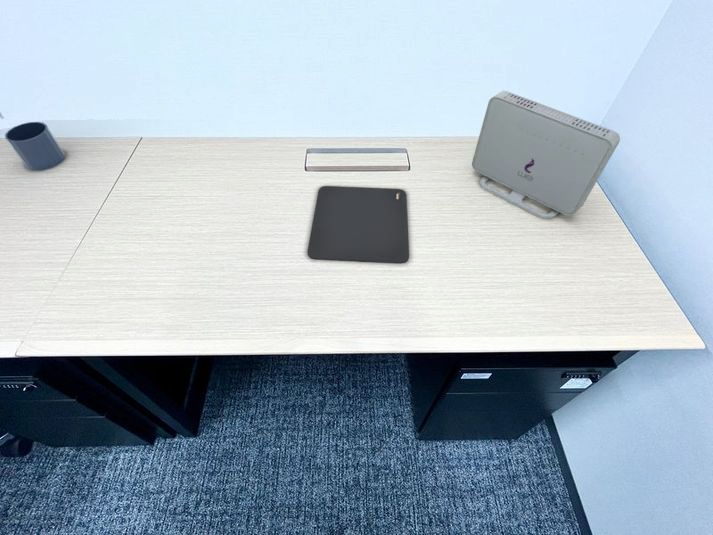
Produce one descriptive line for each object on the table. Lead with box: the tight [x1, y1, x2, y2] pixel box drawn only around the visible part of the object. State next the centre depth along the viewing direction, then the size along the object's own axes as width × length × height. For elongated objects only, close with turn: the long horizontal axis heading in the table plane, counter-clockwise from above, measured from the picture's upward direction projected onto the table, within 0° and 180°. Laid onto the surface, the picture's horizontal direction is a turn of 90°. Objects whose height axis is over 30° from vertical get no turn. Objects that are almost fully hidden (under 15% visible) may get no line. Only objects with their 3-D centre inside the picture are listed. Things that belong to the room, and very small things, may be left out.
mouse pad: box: [307, 185, 410, 264], centre depth 86 cm, size 23×20×1 cm
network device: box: [471, 90, 621, 220], centre depth 85 cm, size 26×9×20 cm, turn 47°
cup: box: [4, 121, 66, 172], centre depth 96 cm, size 9×9×8 cm
